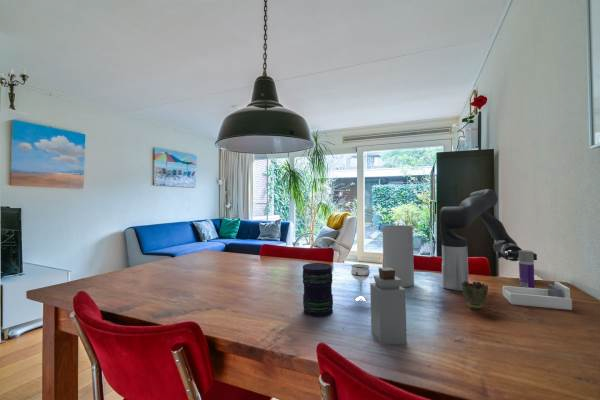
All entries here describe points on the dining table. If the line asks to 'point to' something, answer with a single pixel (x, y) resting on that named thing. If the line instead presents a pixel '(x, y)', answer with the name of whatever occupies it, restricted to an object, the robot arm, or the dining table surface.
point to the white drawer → (538, 297)
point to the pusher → (554, 291)
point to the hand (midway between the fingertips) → (519, 258)
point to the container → (526, 269)
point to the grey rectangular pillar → (399, 252)
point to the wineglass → (360, 277)
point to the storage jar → (317, 289)
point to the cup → (475, 294)
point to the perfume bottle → (388, 308)
